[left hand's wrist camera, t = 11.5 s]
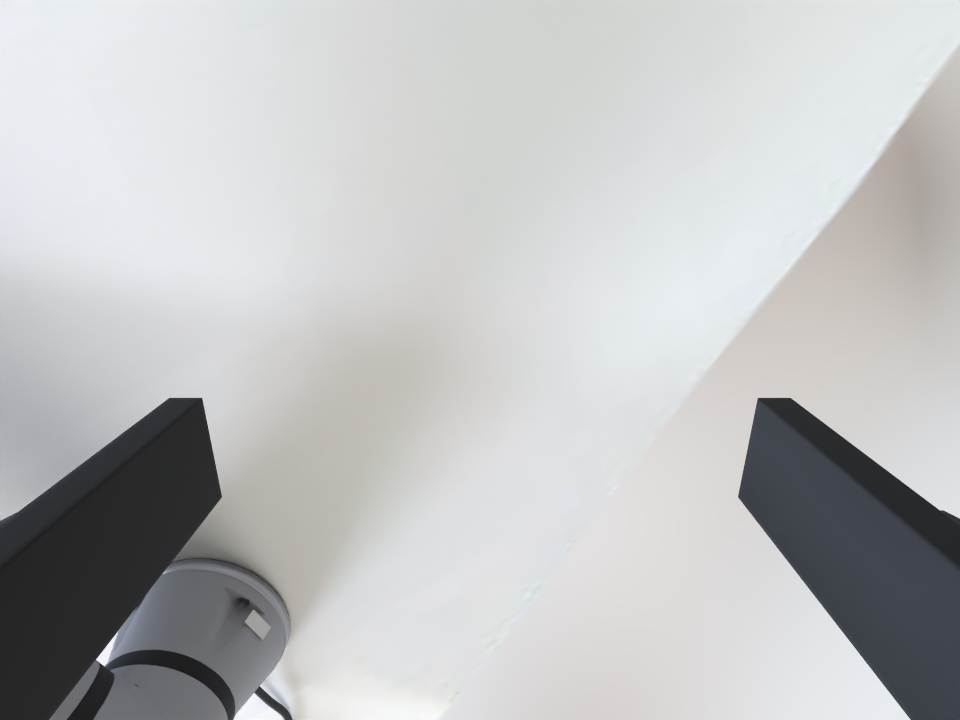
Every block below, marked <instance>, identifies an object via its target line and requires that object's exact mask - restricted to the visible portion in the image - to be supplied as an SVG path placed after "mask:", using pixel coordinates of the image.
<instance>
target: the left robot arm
mask: <svg viewBox="0 0 960 720" xmlns="http://www.w3.org/2000/svg"><path fill="white" fill-rule="evenodd" d="M738 497H739V499H740V500H741V501H742V503H743V504H744V505H745V507H746V508H747V509H748V510H749V512H750V513H751V514H752V515H753V517H754V518H755V519H756V521H757V522H758V523H759V525H760V526H761V527H762V528H763V530H764V531H765V532H766V534H767V535H768V536H769V537H770V539H771V540H772V541H773V543H774V544H775V545H776V546H777V548H778V549H779V550H780V552H781V553H782V554H783V556H784V557H785V558H786V559H787V561H788V562H789V563H790V564H791V566H792V567H793V568H794V570H795V571H796V572H797V574H798V575H799V576H800V577H801V579H802V580H803V581H804V583H805V584H806V585H807V586H808V588H809V589H810V590H811V592H812V593H813V594H814V595H815V597H816V598H817V599H818V601H819V602H820V603H821V605H822V606H823V607H824V608H825V610H826V611H827V612H828V614H829V615H830V616H831V617H832V619H833V620H834V621H835V623H836V624H837V625H838V626H839V628H840V629H841V630H842V632H843V633H844V634H845V635H846V637H847V638H848V639H849V641H850V642H851V643H852V644H853V646H854V647H855V648H856V650H857V651H858V652H859V653H860V655H861V656H862V657H863V659H864V660H865V661H866V663H867V664H868V665H869V666H870V668H871V669H872V670H873V672H874V673H875V674H876V675H877V677H878V678H879V679H880V681H881V682H882V683H883V684H884V686H885V687H886V688H887V690H888V691H889V692H890V693H891V695H892V696H893V697H894V699H895V700H896V701H897V703H898V704H899V705H900V706H901V708H902V709H903V710H904V711H905V713H906V714H907V715H908V717H909V718H910V719H911V720H960V519H959V518H957V517H955V516H953V515H951V514H949V513H947V512H945V511H940V510H938V509H937V508H936V507H934V506H933V505H932V504H930V503H929V502H928V501H926V500H925V499H924V498H922V497H921V496H920V495H918V494H917V493H916V492H914V491H913V490H912V489H910V488H909V487H908V486H906V485H905V484H904V483H902V482H901V481H900V480H899V479H897V478H896V477H895V476H893V475H892V474H891V473H889V472H888V471H887V470H885V469H884V468H883V467H881V466H880V465H879V464H877V463H876V462H875V461H873V460H872V459H871V458H869V457H868V456H867V455H865V454H864V453H863V452H861V451H860V450H859V449H857V448H856V447H855V446H853V445H852V444H851V443H849V442H848V441H847V440H845V439H844V438H843V437H841V436H840V435H839V434H837V433H836V432H835V431H833V430H832V429H831V428H829V427H828V426H827V425H825V424H824V423H823V422H822V421H820V420H819V419H817V418H816V417H815V416H814V415H812V414H811V413H810V412H808V411H807V410H806V409H804V408H803V407H802V406H800V405H799V404H798V403H796V402H795V401H794V400H792V399H791V398H758V400H757V406H756V410H755V415H754V420H753V425H752V430H751V435H750V440H749V446H748V450H747V455H746V460H745V465H744V470H743V475H742V480H741V485H740V490H739V495H738ZM221 498H222V495H221V490H220V485H219V480H218V475H217V470H216V465H215V460H214V455H213V450H212V445H211V440H210V435H209V430H208V425H207V420H206V415H205V410H204V405H203V400H202V398H169V399H168V400H166V401H165V402H164V403H162V404H161V405H160V406H158V407H157V408H156V409H154V410H153V411H152V412H150V413H149V414H148V415H146V416H145V417H144V418H142V419H141V420H140V421H138V422H137V423H136V424H134V425H133V426H132V427H131V428H129V429H128V430H127V431H125V432H124V433H123V434H121V435H120V436H119V437H117V438H116V439H115V440H113V441H112V442H111V443H109V444H108V445H107V446H105V447H104V448H103V449H101V450H100V451H99V452H97V453H96V454H95V455H93V456H92V457H91V458H89V459H88V460H87V461H85V462H84V463H83V464H81V465H80V466H79V467H77V468H76V469H75V470H73V471H72V472H71V473H69V474H68V475H67V476H65V477H64V478H63V479H61V480H60V481H59V482H58V483H56V484H55V485H54V486H52V487H51V488H50V489H48V490H47V491H46V492H44V493H43V494H42V495H40V496H39V497H38V498H36V499H35V500H34V501H32V502H31V503H30V504H28V505H27V506H26V507H24V508H23V509H22V510H20V511H19V512H18V513H15V514H13V515H11V516H9V517H7V518H5V519H3V520H1V521H0V720H233V719H234V717H235V715H236V713H237V712H238V711H239V710H240V709H241V707H242V706H243V705H244V704H245V703H246V702H247V700H248V699H249V698H250V697H251V696H252V694H253V693H255V694H256V695H257V696H258V697H259V698H260V699H261V700H263V701H264V702H265V703H266V704H267V705H268V706H270V707H271V708H272V709H274V710H275V711H277V712H278V713H279V714H280V715H281V716H282V717H283V718H284V720H292V717H291V715H290V713H289V712H288V710H287V709H286V708H285V707H284V706H282V705H281V704H280V703H278V702H277V701H276V700H274V699H273V698H272V697H271V696H269V695H268V694H267V693H266V692H265V691H264V690H263V689H262V688H261V687H260V685H261V684H262V682H263V681H264V680H265V678H266V677H268V676H269V674H270V673H271V672H272V671H273V670H274V668H275V667H276V665H277V663H278V662H279V660H280V658H281V656H282V654H283V652H284V649H285V647H286V644H287V642H288V638H289V634H290V620H289V616H288V613H287V610H286V607H285V605H284V603H283V602H282V600H281V598H280V597H279V596H278V594H277V593H276V592H275V591H274V590H273V589H272V588H271V587H270V586H269V585H268V584H267V583H266V582H265V581H263V580H262V579H261V578H259V577H258V576H256V575H255V574H253V573H251V572H250V571H248V570H246V569H243V568H241V567H239V566H236V565H233V564H230V563H227V562H223V561H218V560H211V559H188V560H182V561H177V562H174V563H171V562H172V561H173V559H174V558H175V557H176V556H177V554H178V553H179V552H180V550H181V549H182V548H183V546H184V545H185V544H186V543H187V541H188V540H189V539H190V537H191V536H192V535H193V534H194V532H195V531H196V530H197V528H198V527H199V526H200V525H201V523H202V522H203V521H204V519H205V518H206V517H207V516H208V514H209V513H210V512H211V510H212V509H213V508H214V507H215V505H216V504H217V503H218V501H219V500H220V499H221ZM170 563H171V564H170ZM118 630H119V631H118ZM117 632H118V634H117V637H116V640H115V643H114V645H113V648H112V651H111V654H110V657H109V660H108V663H107V664H106V666H105V667H104V666H103V665H102V664H100V663H99V662H98V661H97V660H96V659H97V657H98V656H99V655H100V654H101V652H102V651H103V650H104V648H105V647H106V646H107V644H108V643H109V642H110V641H111V639H112V638H113V637H114V635H115V634H116V633H117Z"/></svg>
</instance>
